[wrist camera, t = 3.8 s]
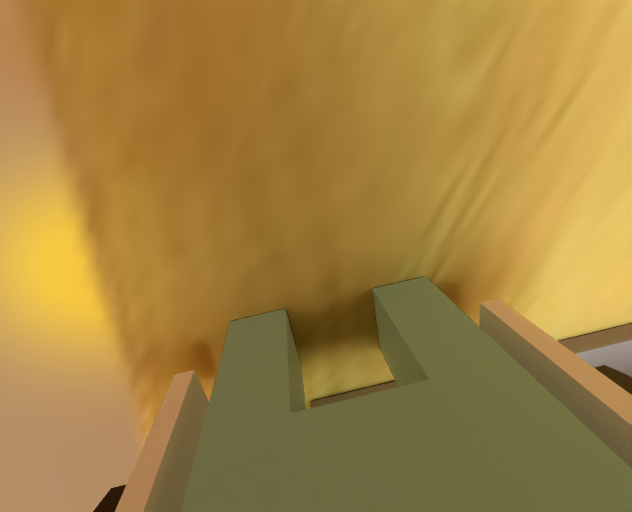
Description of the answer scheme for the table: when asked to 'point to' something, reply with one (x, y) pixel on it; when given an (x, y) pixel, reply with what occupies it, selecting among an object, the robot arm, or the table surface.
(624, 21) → the table surface
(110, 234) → the table surface
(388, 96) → the table surface
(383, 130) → the table surface
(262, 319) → the green arch block
